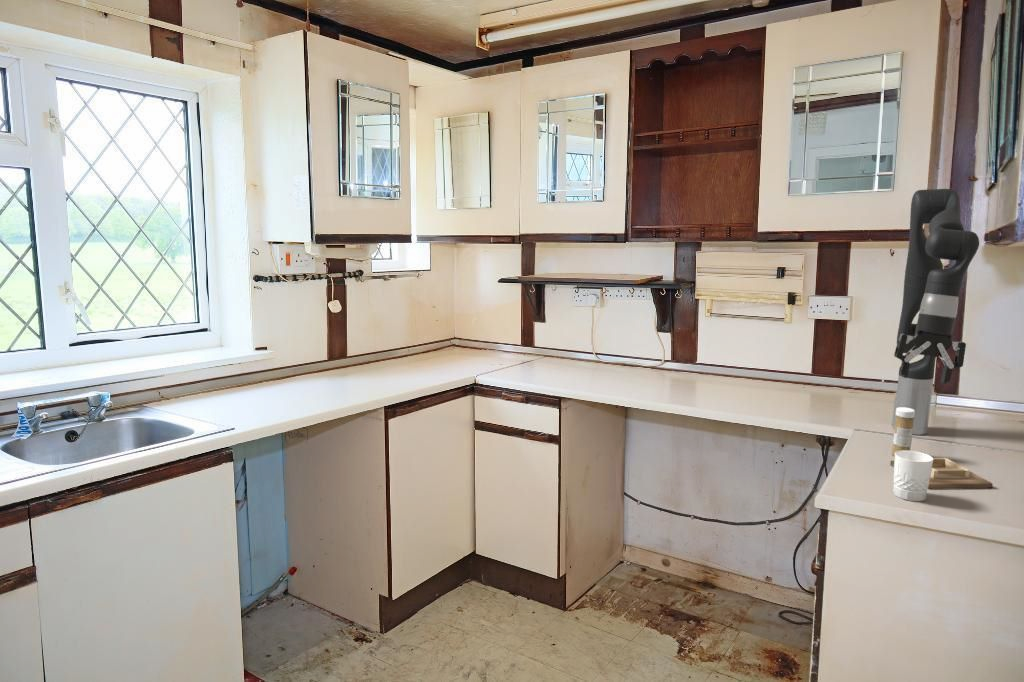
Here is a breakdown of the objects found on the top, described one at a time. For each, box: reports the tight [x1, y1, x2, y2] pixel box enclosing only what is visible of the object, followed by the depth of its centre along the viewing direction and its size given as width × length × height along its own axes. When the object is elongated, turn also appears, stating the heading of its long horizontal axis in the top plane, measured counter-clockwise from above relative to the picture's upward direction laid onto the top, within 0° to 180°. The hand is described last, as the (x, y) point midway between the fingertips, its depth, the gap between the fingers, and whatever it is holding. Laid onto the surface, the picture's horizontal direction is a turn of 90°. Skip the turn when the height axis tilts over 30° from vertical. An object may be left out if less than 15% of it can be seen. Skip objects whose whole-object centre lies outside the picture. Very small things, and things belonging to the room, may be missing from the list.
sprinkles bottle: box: [891, 407, 915, 457], centre depth 189 cm, size 5×5×13 cm
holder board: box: [889, 457, 993, 490], centre depth 175 cm, size 16×16×3 cm
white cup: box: [892, 450, 934, 502], centre depth 162 cm, size 8×8×10 cm
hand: (923, 380), depth 165 cm, fingers open, 8 cm apart
